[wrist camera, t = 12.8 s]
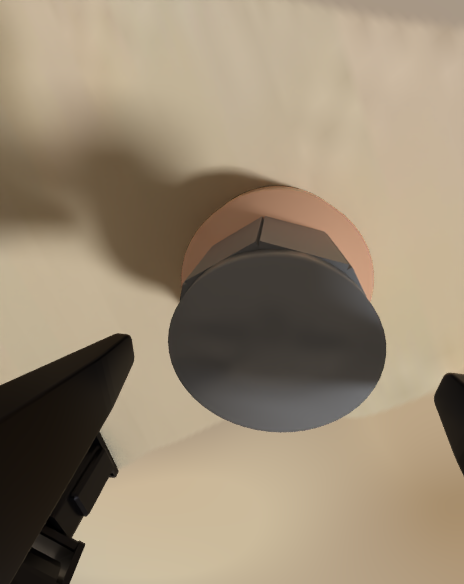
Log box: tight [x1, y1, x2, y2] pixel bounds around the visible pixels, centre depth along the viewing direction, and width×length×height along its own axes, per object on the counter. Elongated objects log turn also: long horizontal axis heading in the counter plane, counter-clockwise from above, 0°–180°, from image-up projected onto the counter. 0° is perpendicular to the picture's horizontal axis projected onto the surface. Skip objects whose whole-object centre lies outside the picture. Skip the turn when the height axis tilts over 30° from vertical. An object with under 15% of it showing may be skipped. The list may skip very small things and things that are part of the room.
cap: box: [168, 216, 386, 432], centre depth 11 cm, size 7×7×5 cm
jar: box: [181, 186, 374, 302], centre depth 13 cm, size 9×9×6 cm
